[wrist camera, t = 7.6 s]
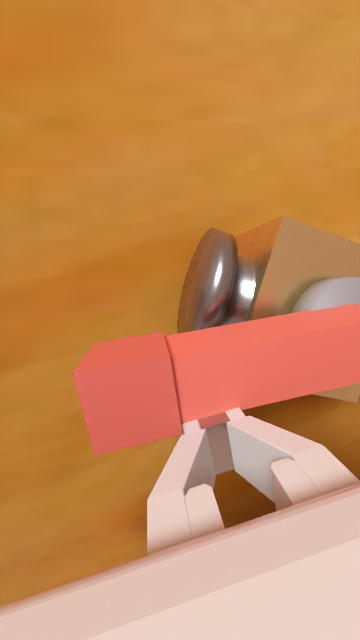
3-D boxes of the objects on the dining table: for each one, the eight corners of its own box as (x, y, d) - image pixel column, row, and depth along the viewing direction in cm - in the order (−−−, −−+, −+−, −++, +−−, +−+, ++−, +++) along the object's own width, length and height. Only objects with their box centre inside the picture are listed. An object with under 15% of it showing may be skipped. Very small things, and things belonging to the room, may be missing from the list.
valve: (314, 367, 19) (399, 414, 12) (169, 336, 16) (185, 375, 10) (348, 276, 18) (462, 277, 11) (198, 227, 15) (237, 192, 9)
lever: (370, 271, 11) (480, 269, 7) (365, 355, 12) (461, 389, 8) (95, 315, 9) (63, 340, 5) (116, 408, 10) (101, 480, 6)
